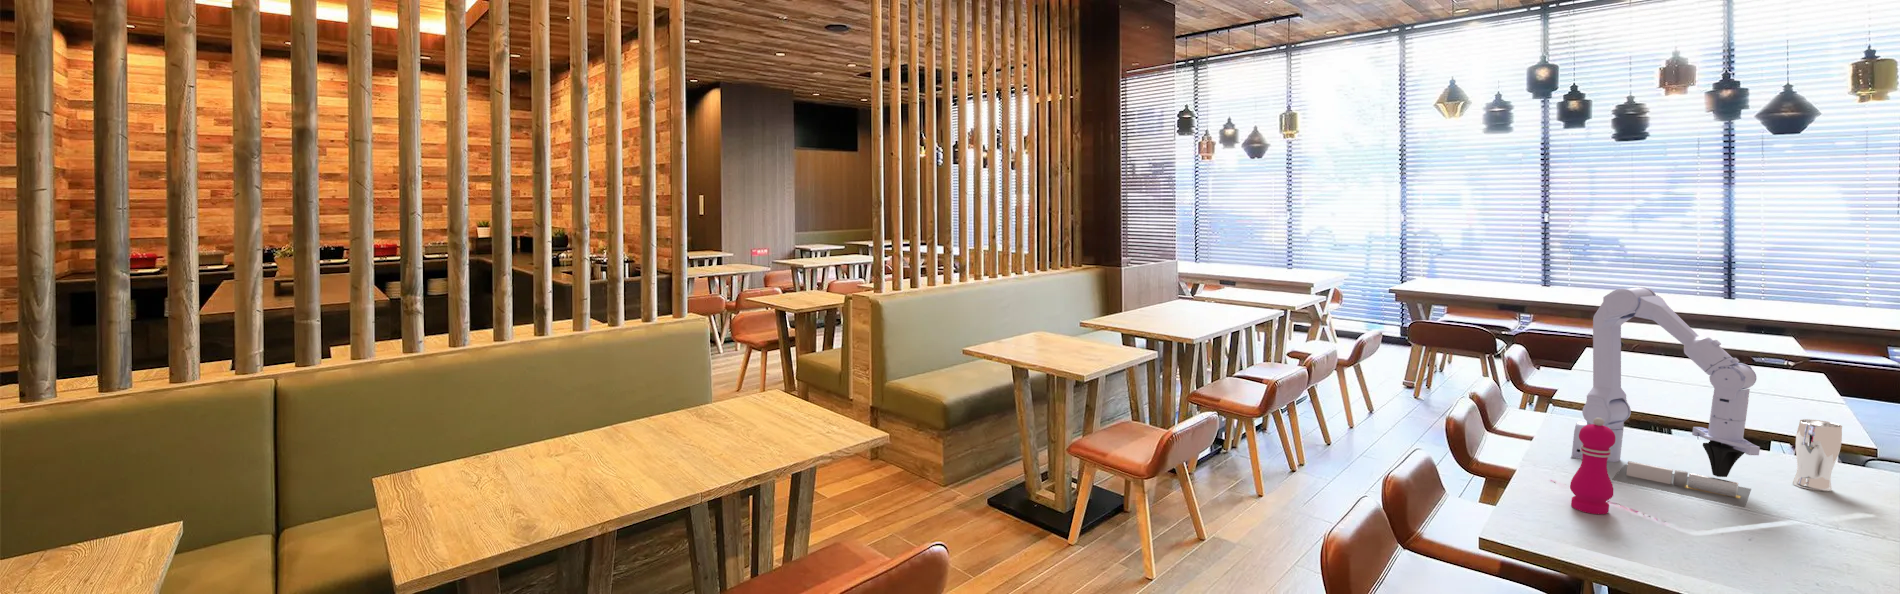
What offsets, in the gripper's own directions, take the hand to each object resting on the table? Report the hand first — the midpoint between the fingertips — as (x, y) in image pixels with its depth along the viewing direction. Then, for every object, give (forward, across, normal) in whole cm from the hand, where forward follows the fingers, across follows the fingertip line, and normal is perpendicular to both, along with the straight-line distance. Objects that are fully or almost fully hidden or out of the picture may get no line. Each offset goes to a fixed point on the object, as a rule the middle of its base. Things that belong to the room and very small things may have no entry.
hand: (1719, 475), depth 181 cm
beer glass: (+3, -3, +23) cm, 23 cm away
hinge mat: (+3, -1, -7) cm, 8 cm away
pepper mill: (+4, +13, -37) cm, 39 cm away
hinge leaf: (+2, +4, -5) cm, 6 cm away
